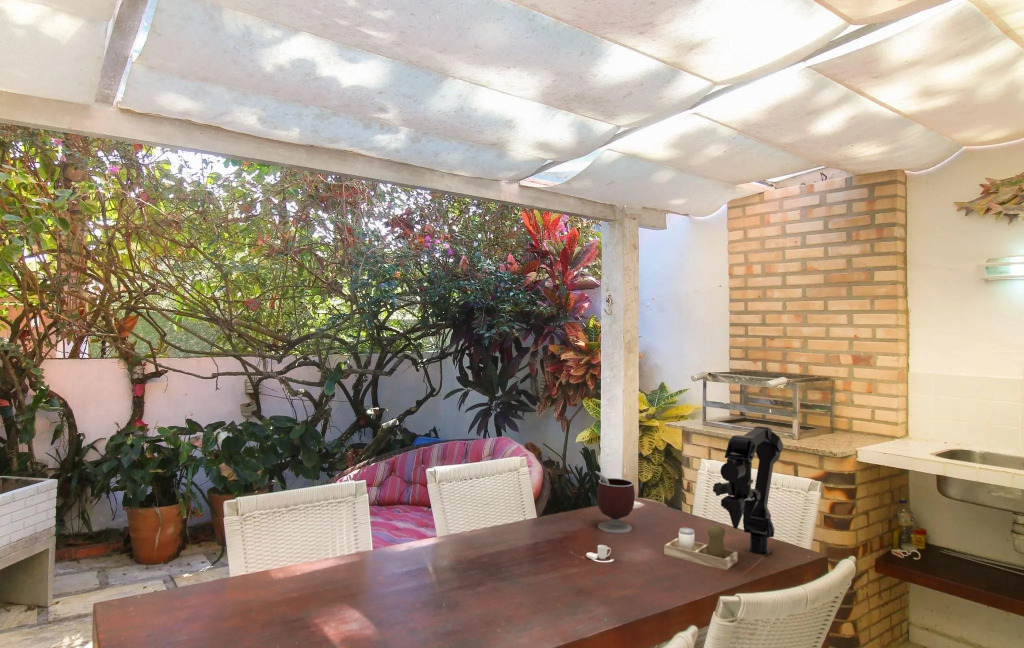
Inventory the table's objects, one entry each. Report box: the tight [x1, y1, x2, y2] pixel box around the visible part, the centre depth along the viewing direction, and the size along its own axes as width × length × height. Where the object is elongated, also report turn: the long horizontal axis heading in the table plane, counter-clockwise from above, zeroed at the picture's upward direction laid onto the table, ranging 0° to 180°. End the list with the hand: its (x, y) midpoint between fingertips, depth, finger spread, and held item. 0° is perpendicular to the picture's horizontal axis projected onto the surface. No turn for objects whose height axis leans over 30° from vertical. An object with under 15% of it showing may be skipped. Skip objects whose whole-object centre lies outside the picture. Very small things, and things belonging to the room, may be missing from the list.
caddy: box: [663, 537, 739, 571], centre depth 207 cm, size 11×20×4 cm, turn 52°
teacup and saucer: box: [585, 544, 615, 563], centre depth 206 cm, size 9×8×4 cm
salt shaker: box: [678, 527, 696, 551], centre depth 210 cm, size 5×5×8 cm
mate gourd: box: [594, 471, 636, 534], centre depth 239 cm, size 16×14×20 cm
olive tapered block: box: [707, 525, 726, 559], centre depth 204 cm, size 6×6×11 cm
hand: (740, 525), depth 204 cm, fingers open, 9 cm apart
